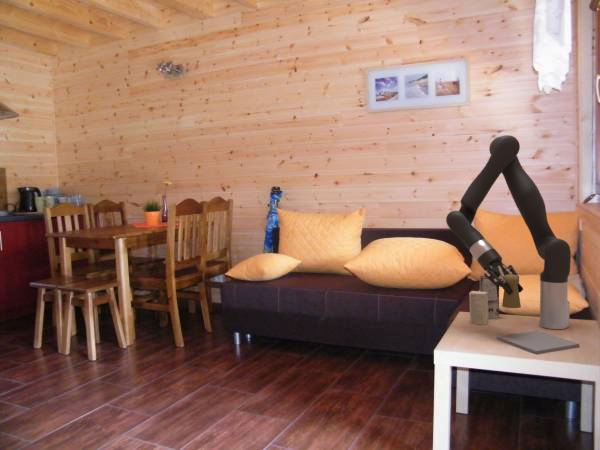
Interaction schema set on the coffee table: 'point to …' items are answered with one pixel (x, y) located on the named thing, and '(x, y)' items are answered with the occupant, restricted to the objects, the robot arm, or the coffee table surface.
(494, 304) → the coffee box
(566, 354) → the coffee table surface
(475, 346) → the coffee table surface
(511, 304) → the cork
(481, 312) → the skincare box
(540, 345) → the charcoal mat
